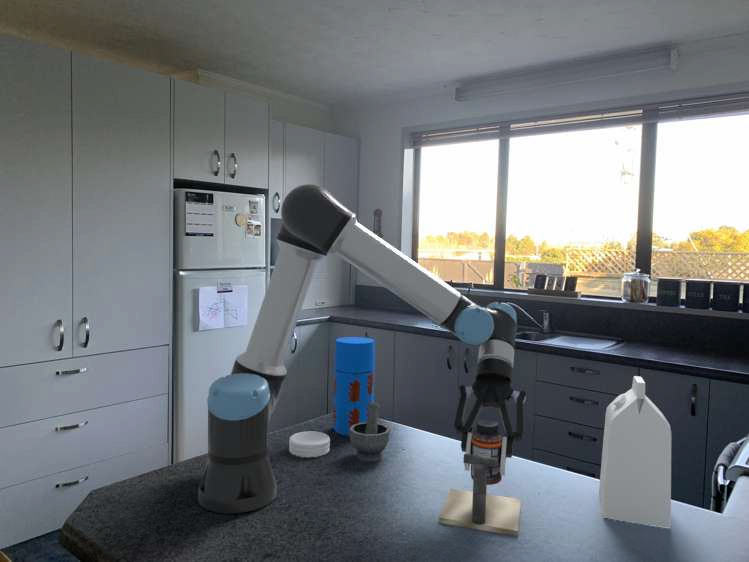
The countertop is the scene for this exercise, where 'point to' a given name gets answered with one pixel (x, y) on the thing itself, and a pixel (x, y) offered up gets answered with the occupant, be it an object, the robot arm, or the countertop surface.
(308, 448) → the white round container
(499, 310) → the robot arm
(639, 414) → the milk
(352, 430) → the mortar and pestle
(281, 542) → the countertop surface
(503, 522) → the headphone stand
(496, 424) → the supplement bottle
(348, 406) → the thermos
